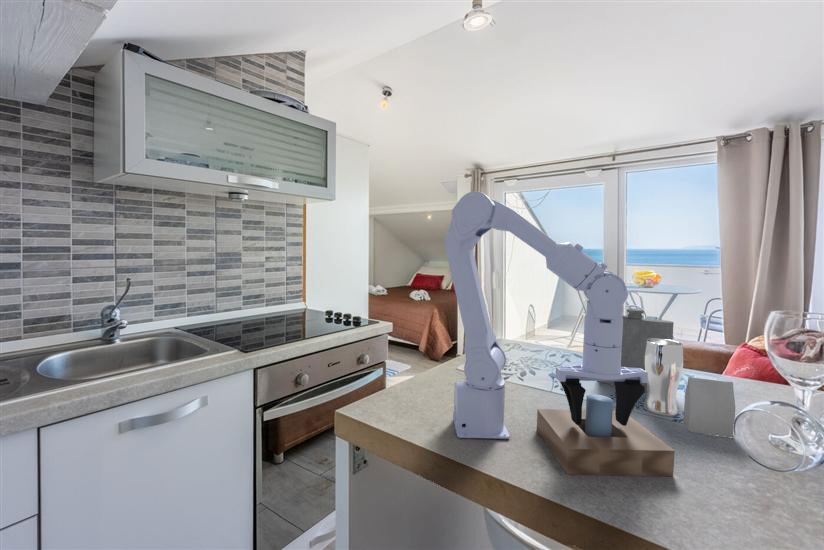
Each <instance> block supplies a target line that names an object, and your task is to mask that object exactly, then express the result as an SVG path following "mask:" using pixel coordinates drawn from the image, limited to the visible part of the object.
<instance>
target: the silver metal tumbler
mask: <svg viewBox="0 0 824 550" xmlns="http://www.w3.org/2000/svg"><path fill="white" fill-rule="evenodd" d="M683 368H684V344H683V343H682V342H679V341H676V340H674V339H673V340H667V339H658V338H650V339H646V345H645V352H644V370H645V371H647V372H648V377H647V383H646V386H647V392H645V393H646V395H645V400H644V402H643V408H644V409H645V411H648V412H650V413H653V414H656V415H659V416H664V417H675V416H677V415H678V406H677V393H678V389H679V385H680V382H681V379H682V374H683V370H684V369H683Z"/></svg>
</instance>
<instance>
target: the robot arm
mask: <svg viewBox="0 0 824 550" xmlns="http://www.w3.org/2000/svg"><path fill="white" fill-rule="evenodd" d="M450 220H451V221H450V223H449V225H448V226H449V227H448V229H447V233H446V237H445V240H444V249H445V254H446V257H447V263H448V266H449V270H450V275H451V280H452V283H453V289H454V292H455V296H456V297H455V298H456V301H457V305H458V309H459V313H460V318H461V321H462V326H463V330H464V335H465V337H464V349H463V350H464V354H465V363H464V367H463V372H464V376H465V380H463V381H457V382H454V389H453V390H454V391H453V411H452V420H453V423H454V428H455V433H456V435H457V438H460V439H510V438H511V435H510V433H509V430H508V428H507V427H506V425H505V394H506V393H505V392H506V381H505V379H504V378H503V375H502V374H501V372H502V371H503V369H505V368H504V367H505V366H506V363H507V357H506V353H505V351H504V349H502V347H501V346H500V345H499V343H498V339H497V336H496V334H495V332H494V331H493V329H492V326H491V322H490V317H489V313H488V312H489V311H488V310H487V303H486V301H485V296H484V292H483V287H482V283H481V280H480V275H479V270H478V266H477V263H476V257H475V254H474V248H475V246H476V245H477V244H478V242H479V241H480V239H482V236H483V235H485V234H486V233H487V232H489V231H490V230H492V229H495V230H496V231H497V230H498V231H502V232H509V233H510V234H512V235H514V236H515V237H516V238H518V239H519V240H520V241H522V243H523V242H524V243H525V244H527V246H529V247H531V248H532V249H533V250H535V251H536V252H538V253H539V254H540V255H542V256H544V257H545V264H546V268H547V270H549V271H550V272H552V273H553V274H554V275H556V276H557V277H558V278H559V279H561V280H562V281H564V282H565V283H566V284H567V285H569V286H570V287H571V288H573V289H574V290H575V291H577V292H578V291H582V292H583V293H584V295H585V298H586V299H587V300H586V312H585V314H584V322H583V323H584V325H583V344H582V345H583V346H582V363H581V364H577V365H569V366H568V365H567V366H566V365H565V366H556V367H555V379H556V380H557V381H558V382H559V383H560V385H561V387H562V389H563V392H564V394H565V397H566V399H567V403H568V407H569V410H570V412H571V419H572V421H573V422H574V423H575V424H576V425H581V420H582V410H583V402H584V397H585V394H586V391H587V389H585V387H583V386H582V382H584V381H585V382H587V381H588V382H589V381H591V382H599V381H614V384H615V385H614V389H615V411H616V412H615V414H616V420H617V421H618V422H619V423H620V424H621V425H623V426H626V425H627V422H628V419H629V416H630V417H631V414H632V411H633V409H634V408H635V405H636V404H637V403H638V401H639V399H640V398H642V396H643V395H644V394H645V393H646V391H645V387H644V386H643V385H641V384H640V383H647V377H648V372H647V371H645V370H643V369H641V368H628V367H621V351H622V333H623V318H622V315H623V312H624V307H623V305H624V304H625V302H626V301H627V299H628V297H629V294H630V293H629V291H628V289H627V286H626V283H625V281H624V280H623V279H622V277H620V276H618V275H616V274H614V273H613V272H612V271H610V270H607V268H609V267H608V266H609V265H607V264H606V263H605V262H601V263H599V262H598V261H597V260H595V259H594V258H592V257H591V256H589V255H588V254H587V253H585V251H583V249H584V247H583V246H582V245H581V244H580V243H575V245H574V244H573V243H571V241H566V242H556V241H555V240H554V239H552V238H551V237H549V235H547V234H545V233H544V232H543V231H542V230H540V229H539V228H538V227H537V226H536V225H534V224H532V222H530V221H529V220H527V218H525V217H524V216H522V215H521V214H520V213H518V212H517V211H516V210H514V209H512V208H511V207H509V206H507V205H505V204H504V203H502V202H500V201H497V200H496V199H490V197H489V196H487V195H486V193H484V192H481V191H476V190H475V191H470V192H467V193H465V194H464V195H462V197H460V199H459V200H458V201H457V203H456V205H454V207H453V208H452V210H451V219H450Z"/></svg>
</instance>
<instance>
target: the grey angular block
mask: <svg viewBox="0 0 824 550" xmlns="http://www.w3.org/2000/svg"><path fill="white" fill-rule="evenodd" d="M686 384H687V385H686V388H685V393H684V405H683V406H684V407H683V420H682V421H683V422H682V423H683V425H684V426H685V428H686V430H687V431H688V432H690V431H691V433H696V432H697V433H698V434H702V433H703V435H708V434H711V435H710V436H714V435H719V436H718V437H720V436H726V437H733V438H734V436H735V435H733V424H734V425H735V422H734V421H736V420H735V418H736V401H735V399H736V398H735V393H734V392H735V391H734V382H733V381H726V380H718V379H709V378H702V377H693V376H688V378H687V383H686Z"/></svg>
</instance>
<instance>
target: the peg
mask: <svg viewBox="0 0 824 550" xmlns="http://www.w3.org/2000/svg"><path fill="white" fill-rule="evenodd" d="M585 404H586V405H585V410H586V421H585V434H586V435H587V436H588V437H611V434H612V412H613V411H614V410H613V409H614V408H613V407H614V400H613V398H611V397H609V396H606V395H602V394H597V393H596V394H595V393H593V394H592V393H591V394H588V395H586V400H585Z"/></svg>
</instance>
